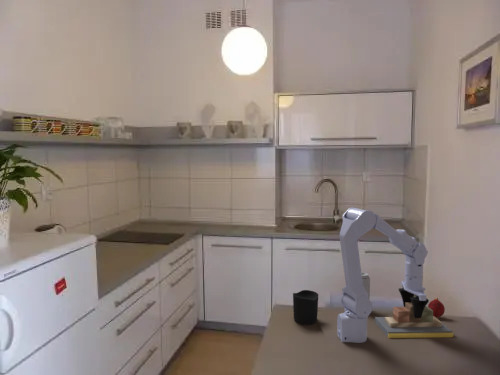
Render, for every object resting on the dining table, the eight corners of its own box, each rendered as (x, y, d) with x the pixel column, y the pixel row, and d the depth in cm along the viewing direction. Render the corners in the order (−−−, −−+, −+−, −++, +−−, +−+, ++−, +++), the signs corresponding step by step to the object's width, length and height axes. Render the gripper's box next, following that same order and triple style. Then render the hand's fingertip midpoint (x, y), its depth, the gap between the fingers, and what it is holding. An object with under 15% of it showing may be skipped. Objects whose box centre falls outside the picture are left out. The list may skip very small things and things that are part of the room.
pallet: (390, 327, 129) (391, 307, 128) (384, 321, 134) (385, 302, 133) (441, 326, 129) (442, 306, 129) (434, 320, 134) (434, 301, 134)
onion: (446, 322, 139) (447, 301, 138) (429, 320, 140) (430, 300, 139) (441, 315, 145) (442, 295, 144) (425, 314, 146) (426, 294, 145)
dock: (388, 340, 125) (388, 332, 125) (374, 323, 138) (374, 317, 137) (453, 339, 126) (453, 331, 125) (433, 322, 138) (433, 316, 138)
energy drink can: (350, 310, 149) (351, 274, 148) (357, 306, 154) (358, 270, 153) (365, 315, 145) (366, 277, 144) (371, 310, 150) (372, 273, 149)
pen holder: (319, 326, 136) (319, 299, 135) (293, 325, 136) (293, 298, 136) (316, 315, 145) (316, 290, 144) (292, 314, 146) (292, 289, 145)
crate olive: (421, 322, 130) (421, 311, 129) (415, 317, 133) (416, 306, 133) (432, 322, 130) (433, 310, 129) (426, 317, 134) (427, 306, 133)
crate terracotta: (398, 322, 129) (398, 311, 129) (392, 318, 133) (393, 307, 133) (409, 322, 129) (409, 311, 129) (403, 317, 133) (404, 306, 133)
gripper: (435, 282, 123) (434, 321, 124) (415, 269, 138) (413, 305, 139) (414, 282, 123) (413, 322, 124) (396, 269, 138) (395, 305, 139)
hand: (412, 313), depth 131 cm, fingers open, 7 cm apart
